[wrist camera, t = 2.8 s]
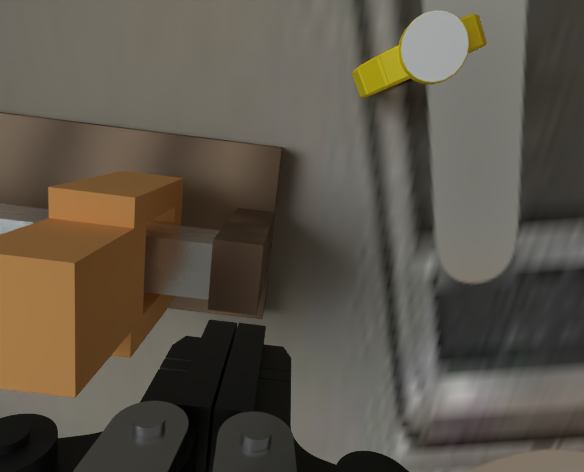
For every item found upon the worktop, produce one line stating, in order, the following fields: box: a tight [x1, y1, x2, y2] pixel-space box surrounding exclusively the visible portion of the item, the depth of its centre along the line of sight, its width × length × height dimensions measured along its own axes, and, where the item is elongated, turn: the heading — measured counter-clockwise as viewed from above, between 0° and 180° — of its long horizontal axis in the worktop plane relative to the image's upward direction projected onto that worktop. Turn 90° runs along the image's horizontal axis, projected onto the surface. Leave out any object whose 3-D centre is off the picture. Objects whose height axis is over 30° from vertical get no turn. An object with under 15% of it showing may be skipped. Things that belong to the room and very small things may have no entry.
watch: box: [352, 10, 486, 98], centre depth 20 cm, size 6×3×6 cm, turn 113°
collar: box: [0, 171, 184, 398], centre depth 16 cm, size 3×6×10 cm, turn 173°
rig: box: [0, 112, 283, 319], centre depth 20 cm, size 24×10×10 cm, turn 83°
